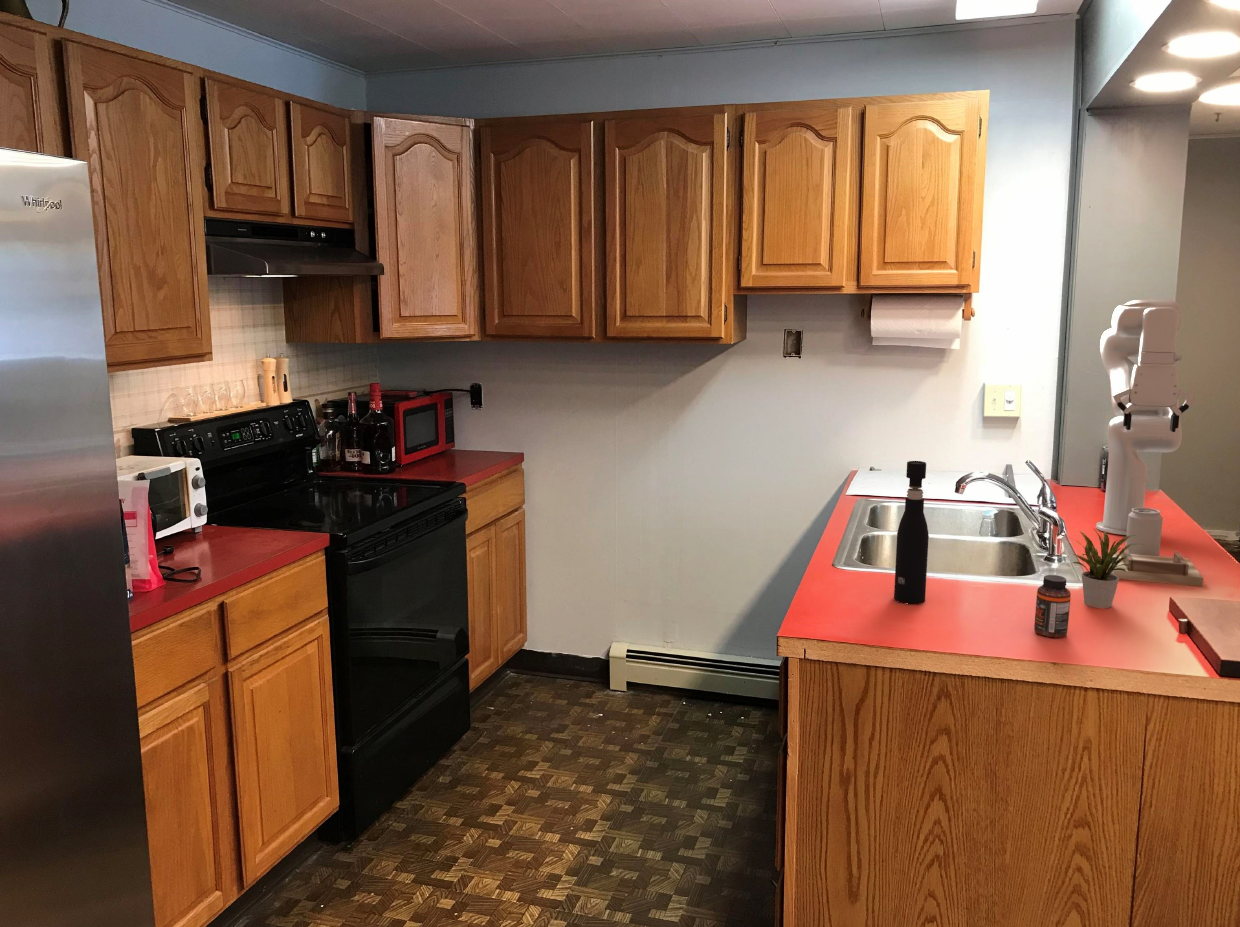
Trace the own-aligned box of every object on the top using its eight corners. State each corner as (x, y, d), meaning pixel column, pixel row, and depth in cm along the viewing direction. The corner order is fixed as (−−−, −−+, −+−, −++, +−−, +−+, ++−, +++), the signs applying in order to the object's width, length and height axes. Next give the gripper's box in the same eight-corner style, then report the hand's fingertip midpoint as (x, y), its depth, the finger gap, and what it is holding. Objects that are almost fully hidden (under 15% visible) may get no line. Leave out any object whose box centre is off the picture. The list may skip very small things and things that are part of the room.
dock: (1104, 559, 237) (1105, 542, 236) (1187, 566, 231) (1189, 548, 230) (1112, 578, 222) (1114, 559, 222) (1202, 586, 216) (1204, 566, 216)
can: (1150, 553, 243) (1155, 506, 241) (1164, 561, 236) (1169, 513, 233) (1119, 552, 244) (1123, 505, 242) (1131, 560, 236) (1136, 512, 234)
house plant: (1152, 604, 204) (1159, 529, 201) (1130, 621, 195) (1137, 542, 192) (1081, 590, 214) (1088, 518, 211) (1057, 604, 204) (1063, 529, 201)
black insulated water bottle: (925, 596, 210) (933, 460, 204) (924, 605, 204) (932, 465, 199) (894, 593, 212) (901, 458, 207) (892, 602, 206) (899, 464, 201)
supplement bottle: (1027, 628, 191) (1032, 573, 189) (1057, 627, 191) (1061, 572, 189) (1043, 639, 185) (1048, 582, 183) (1073, 638, 185) (1078, 581, 183)
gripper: (1194, 359, 233) (1187, 430, 236) (1114, 358, 239) (1108, 427, 242) (1201, 361, 226) (1193, 434, 229) (1118, 359, 232) (1112, 430, 235)
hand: (1149, 430), depth 235 cm, fingers open, 9 cm apart
